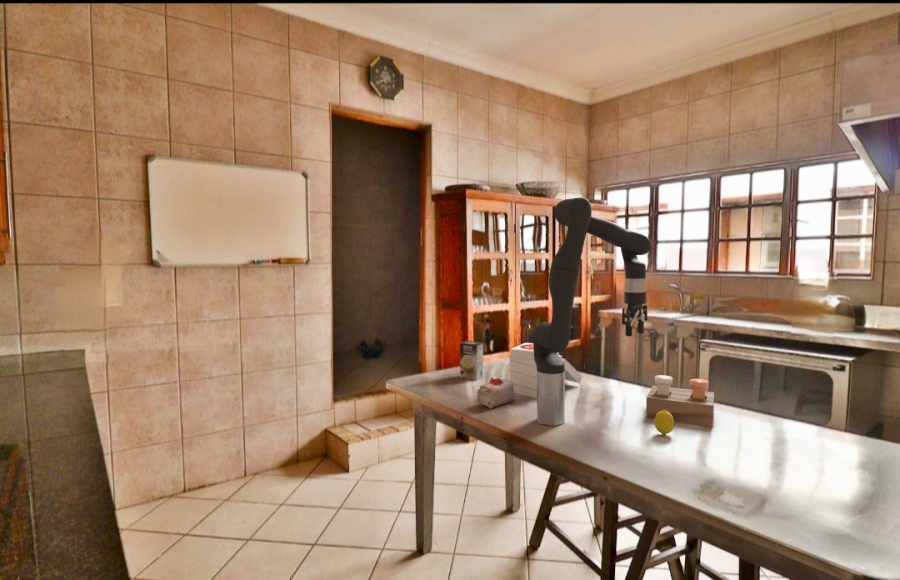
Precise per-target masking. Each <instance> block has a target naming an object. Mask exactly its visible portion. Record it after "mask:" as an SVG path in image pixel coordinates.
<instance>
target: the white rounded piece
mask: <svg viewBox="0 0 900 580" xmlns="http://www.w3.org/2000/svg"><path fill="white" fill-rule="evenodd" d="M654 383H655V384H656V386H657V394H661V395H669V396H670V388H671V386H672V385H673V377H672V376H670V375H664V374H663V375H662V374H661V375H660V374H659V375H655V376H654Z"/></svg>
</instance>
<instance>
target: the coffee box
mask: <svg viewBox="0 0 900 580" xmlns="http://www.w3.org/2000/svg"><path fill="white" fill-rule="evenodd" d="M459 378H460V379H466V380H473V381H478V380H480V379H482V378H484V342H479V341H473V340H465V341H462V342H459Z"/></svg>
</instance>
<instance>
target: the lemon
mask: <svg viewBox="0 0 900 580" xmlns="http://www.w3.org/2000/svg"><path fill="white" fill-rule="evenodd" d="M674 426H675V422H674V419H673V416H672V415H671V413H669V412H668V411H666V410H663V411H659V412H658V413H657V414H656V416H655V419H654V428H655V429H656V430H657V431H658V432H659V433H661V434H662V435H663V436H667V434H670V433H671V432H672V431H673V429H674V428H675V427H674Z"/></svg>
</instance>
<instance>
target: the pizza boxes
mask: <svg viewBox="0 0 900 580" xmlns="http://www.w3.org/2000/svg"><path fill="white" fill-rule="evenodd" d="M509 351H510V354H509V355H508V356H509V360H508V361H509V380H510V381H511V382H512V383H513V388H514V393H516V394H520V395H523V396H525V395H526V396H525V397H528V396H529V398H532V397H533V398H532V399H535V398H536V399H535V400H537V366H536V363H535V361H534V348H533V342H531V343H530V342H524V343H521V344H519V345H517V346H515V347H512V348H510V349H509ZM557 354H558V356H559V358H560V359H561V360H562V361H563V362H564V364H565V381H569V382H573V383H577V384H580V383H581V381H582V379H583V376H582V375H581V374H580V372H578V370H576V369H575V367H574V366H573V365H572V364H571V363H570V362H569V361H568V360H567V359H566V358H563V355H560V353H557Z"/></svg>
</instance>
